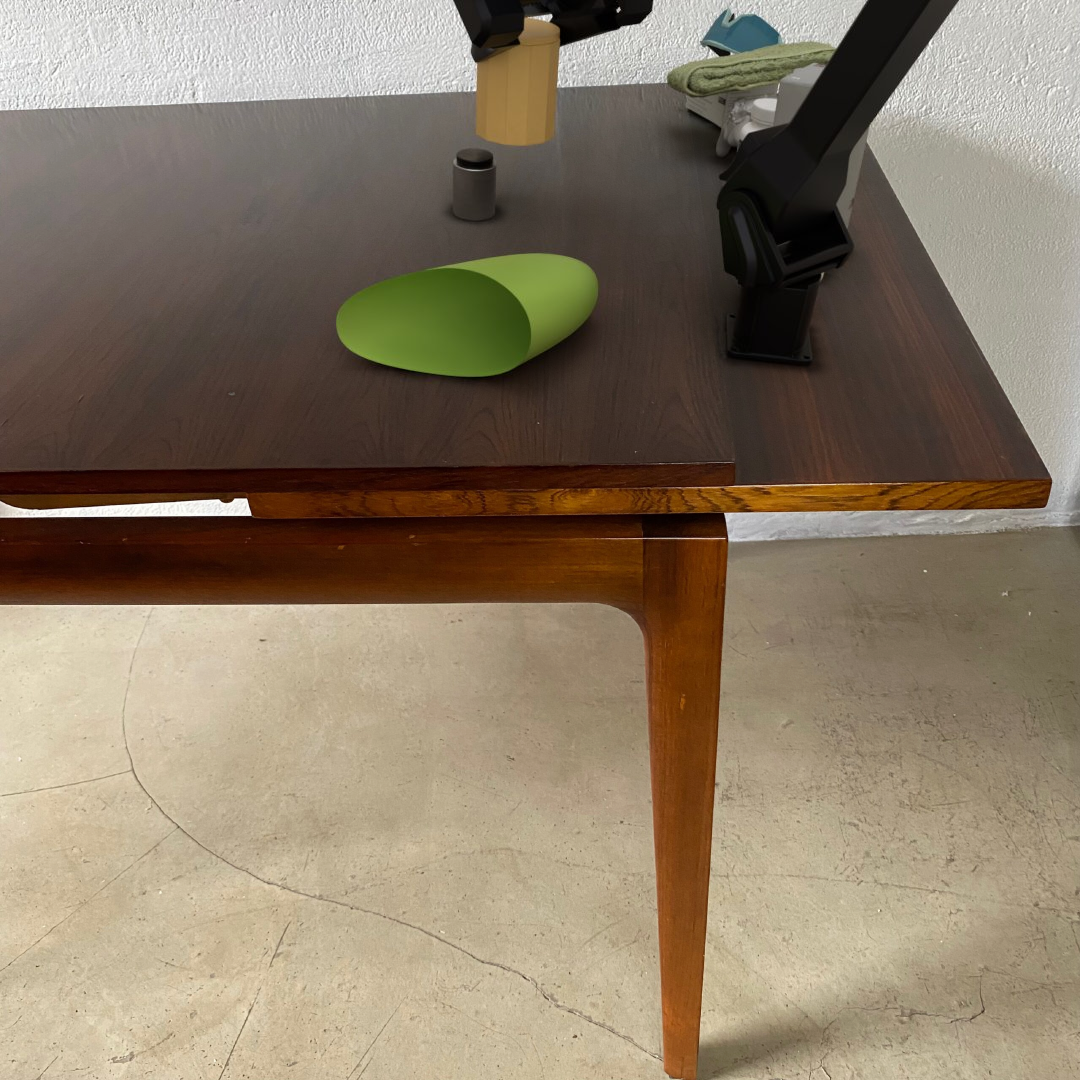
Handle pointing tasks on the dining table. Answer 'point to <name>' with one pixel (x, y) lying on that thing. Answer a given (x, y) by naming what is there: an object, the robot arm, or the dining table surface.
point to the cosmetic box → (787, 105)
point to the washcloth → (746, 68)
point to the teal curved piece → (739, 34)
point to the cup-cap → (520, 88)
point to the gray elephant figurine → (736, 124)
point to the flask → (474, 184)
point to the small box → (726, 102)
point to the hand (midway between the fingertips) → (508, 52)
